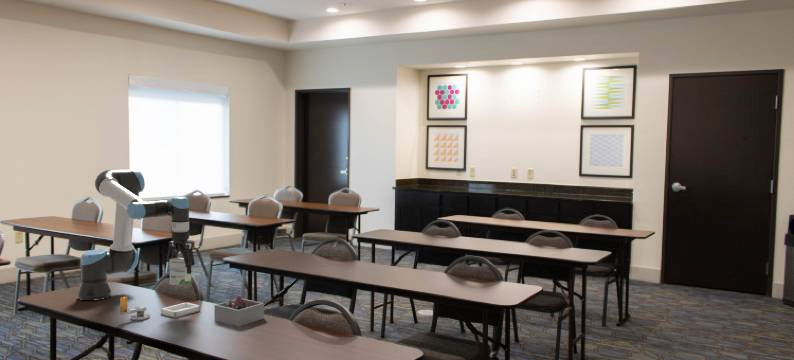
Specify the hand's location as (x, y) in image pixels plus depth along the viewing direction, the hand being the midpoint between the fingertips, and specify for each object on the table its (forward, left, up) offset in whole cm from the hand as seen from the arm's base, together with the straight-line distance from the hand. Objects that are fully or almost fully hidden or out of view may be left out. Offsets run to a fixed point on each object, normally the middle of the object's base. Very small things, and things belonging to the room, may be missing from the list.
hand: (180, 279), depth 282 cm
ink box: (0, 0, -2) cm, 2 cm away
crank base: (-7, -16, -16) cm, 23 cm away
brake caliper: (+29, +8, -16) cm, 34 cm away
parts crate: (+30, +8, -16) cm, 35 cm away
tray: (0, 0, -16) cm, 16 cm away
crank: (-7, -19, -12) cm, 24 cm away
